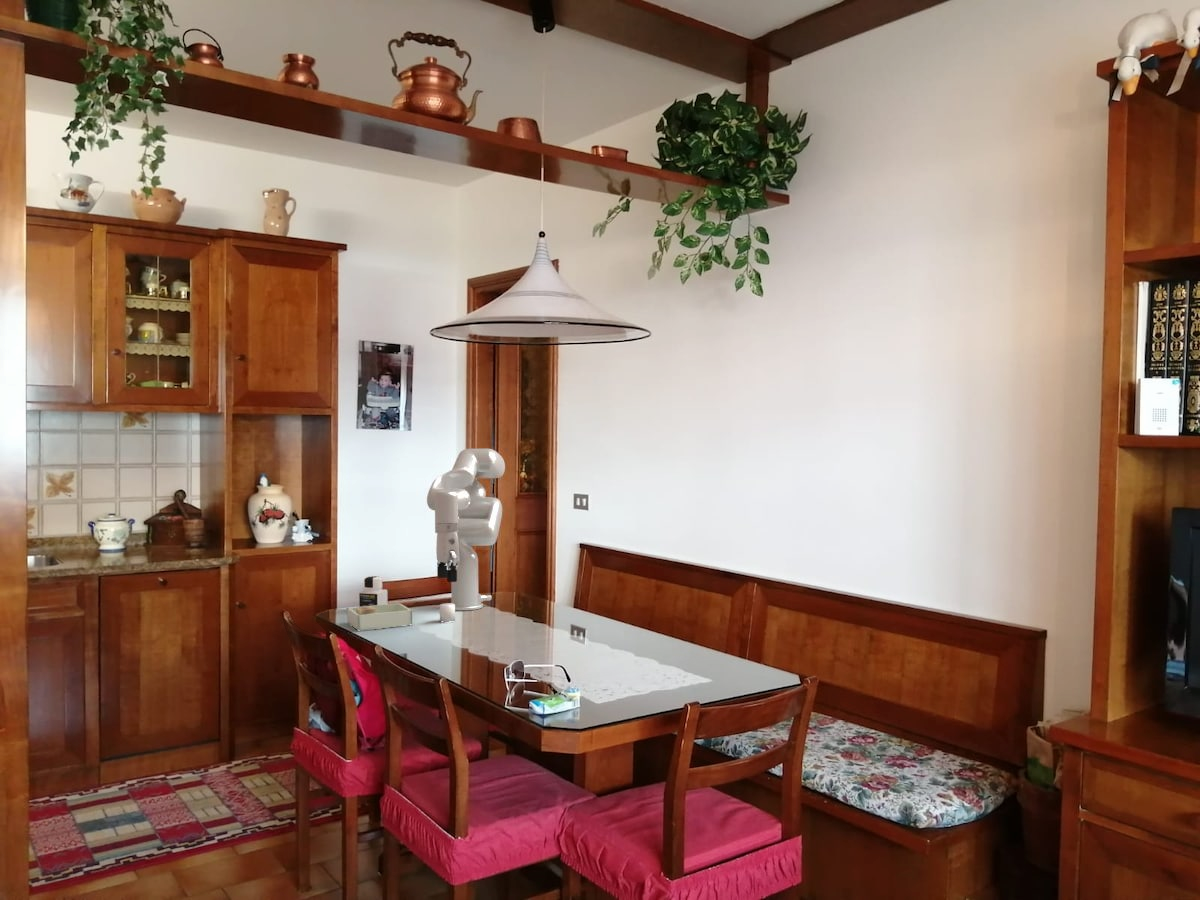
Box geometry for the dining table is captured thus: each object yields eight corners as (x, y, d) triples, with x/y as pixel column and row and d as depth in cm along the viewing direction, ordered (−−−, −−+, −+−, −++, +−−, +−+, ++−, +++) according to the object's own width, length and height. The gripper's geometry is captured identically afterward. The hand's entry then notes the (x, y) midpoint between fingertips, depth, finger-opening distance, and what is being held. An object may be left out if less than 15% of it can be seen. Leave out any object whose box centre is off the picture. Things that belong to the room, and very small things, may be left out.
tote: (399, 617, 310) (399, 603, 310) (412, 625, 297) (412, 610, 297) (347, 623, 301) (347, 608, 301) (358, 631, 289) (357, 615, 289)
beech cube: (371, 621, 300) (371, 606, 300) (375, 624, 296) (375, 608, 296) (356, 623, 298) (356, 607, 298) (359, 626, 294) (359, 610, 294)
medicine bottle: (359, 612, 319) (358, 578, 319) (370, 608, 326) (369, 575, 326) (377, 613, 317) (377, 579, 317) (388, 609, 324) (387, 575, 323)
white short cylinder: (452, 619, 307) (452, 602, 307) (457, 621, 303) (457, 605, 303) (437, 620, 305) (437, 604, 305) (442, 623, 300) (442, 606, 300)
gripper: (466, 529, 297) (466, 582, 298) (448, 525, 313) (449, 575, 313) (444, 531, 294) (444, 584, 294) (427, 526, 309) (427, 577, 309)
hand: (447, 579), depth 303 cm, fingers open, 9 cm apart
